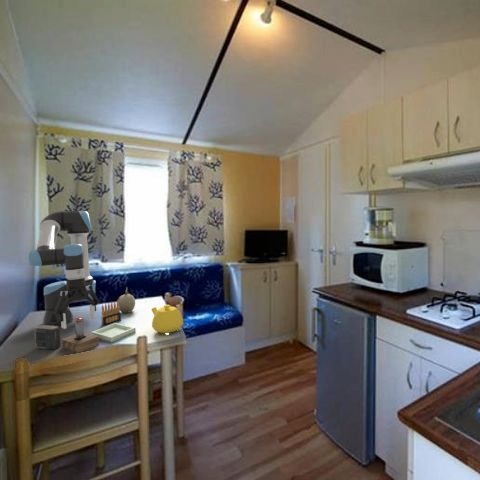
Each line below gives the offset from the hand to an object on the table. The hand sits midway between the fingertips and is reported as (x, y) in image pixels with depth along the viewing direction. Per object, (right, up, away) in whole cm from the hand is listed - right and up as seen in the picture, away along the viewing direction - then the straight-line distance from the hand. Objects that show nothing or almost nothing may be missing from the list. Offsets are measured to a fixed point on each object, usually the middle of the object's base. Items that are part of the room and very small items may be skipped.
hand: (79, 323), depth 133 cm
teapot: (+36, -9, +17) cm, 41 cm away
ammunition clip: (+1, -9, +31) cm, 32 cm away
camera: (-15, -12, +1) cm, 19 cm away
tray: (+10, -10, +14) cm, 20 cm away
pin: (0, -11, +1) cm, 11 cm away
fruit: (+3, -8, +49) cm, 50 cm away
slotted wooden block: (0, -11, +1) cm, 11 cm away
